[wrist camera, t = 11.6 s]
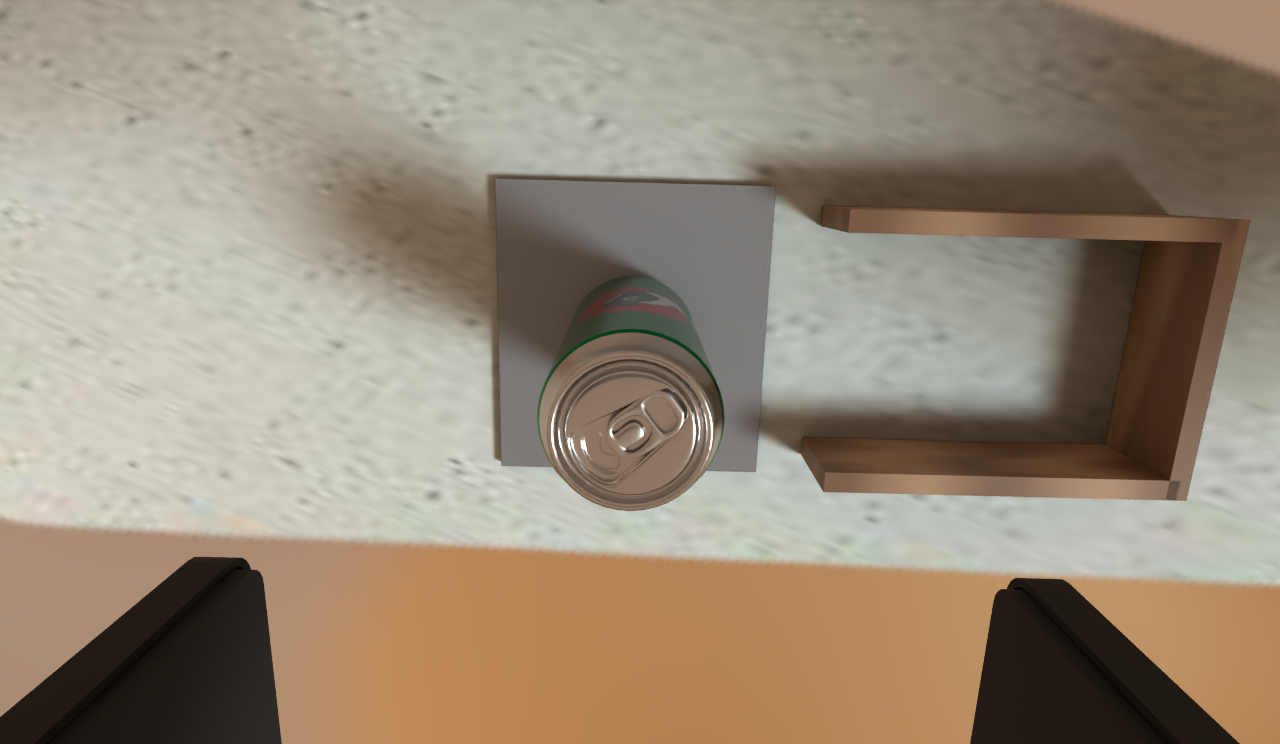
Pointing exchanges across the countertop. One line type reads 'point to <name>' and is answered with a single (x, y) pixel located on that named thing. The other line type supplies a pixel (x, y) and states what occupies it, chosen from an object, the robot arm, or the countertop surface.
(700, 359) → the soda can
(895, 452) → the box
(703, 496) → the countertop surface
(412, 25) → the countertop surface
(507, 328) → the mat
